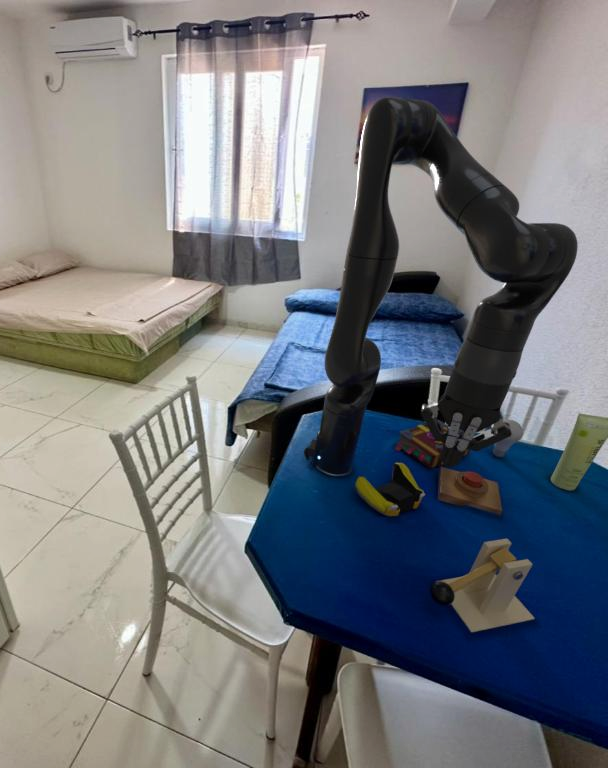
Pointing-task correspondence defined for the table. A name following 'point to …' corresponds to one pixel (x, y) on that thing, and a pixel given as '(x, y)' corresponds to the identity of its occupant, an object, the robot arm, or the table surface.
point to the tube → (580, 450)
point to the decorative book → (423, 445)
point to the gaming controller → (392, 492)
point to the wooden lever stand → (492, 592)
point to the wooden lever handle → (468, 578)
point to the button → (473, 479)
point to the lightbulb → (505, 444)
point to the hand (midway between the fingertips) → (447, 463)
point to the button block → (468, 492)
